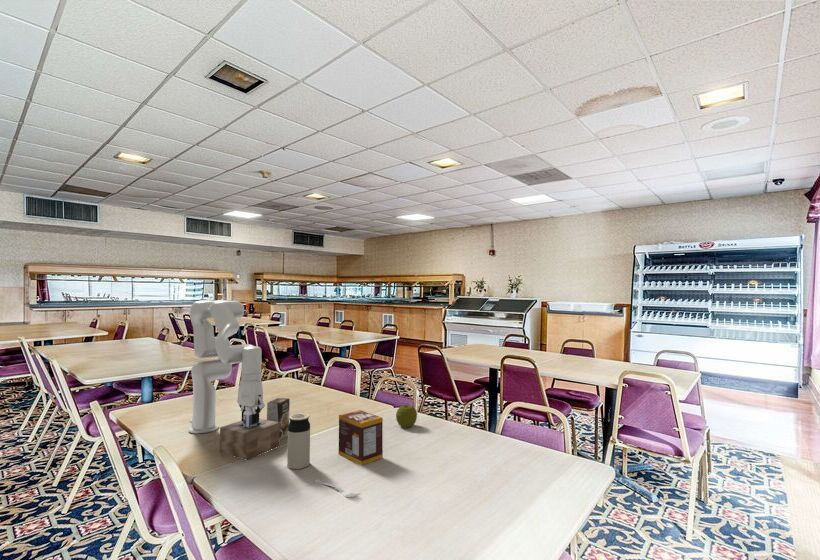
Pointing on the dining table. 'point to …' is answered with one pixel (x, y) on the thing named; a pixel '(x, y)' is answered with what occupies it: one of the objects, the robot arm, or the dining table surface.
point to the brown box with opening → (249, 438)
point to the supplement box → (360, 436)
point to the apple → (406, 416)
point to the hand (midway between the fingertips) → (250, 421)
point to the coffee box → (279, 414)
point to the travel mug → (298, 441)
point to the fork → (338, 489)
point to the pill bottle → (248, 417)
